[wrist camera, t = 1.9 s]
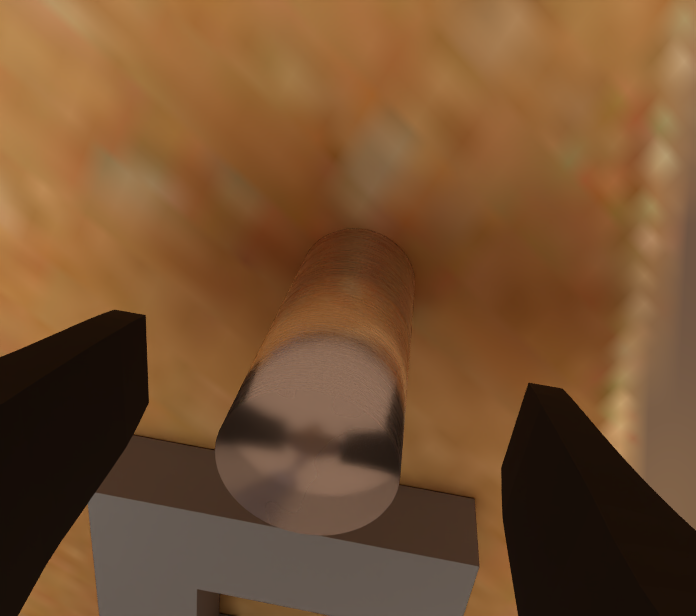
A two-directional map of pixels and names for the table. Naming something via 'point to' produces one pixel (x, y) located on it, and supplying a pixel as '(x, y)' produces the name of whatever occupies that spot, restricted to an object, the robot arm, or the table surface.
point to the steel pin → (326, 393)
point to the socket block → (267, 547)
